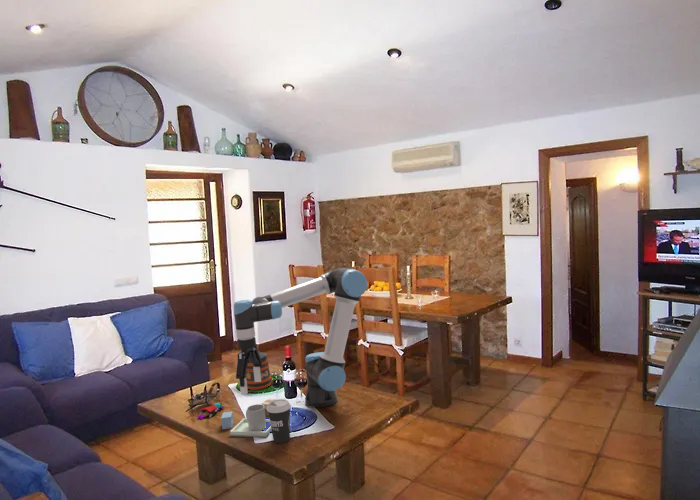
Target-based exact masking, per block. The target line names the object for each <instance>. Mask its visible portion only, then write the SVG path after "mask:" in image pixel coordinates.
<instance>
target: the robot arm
mask: <svg viewBox="0 0 700 500" xmlns="http://www.w3.org/2000/svg"><path fill="white" fill-rule="evenodd" d="M367 281H368V279H367V278H366V275H364V273H362V271H359V270H358V269H355V268H350V267H349V268H348V267H339V268H336V269H333V270H330V271H328V272H325V273H322V274H321V275H319V277H317V278H314V279H312V280H308V281H306V282H302V283H300V284H296V285H293V286H292V287H288V288H285V289H282V290H279V291H277V292H273V293H270V294H268V295H265V296H257V297H255V298H253V299H252V300H251V299H240V300H236V302H234V304H233V314H234V323H235V324H234V325H235V334H236V342H237V343H236V344H237V348H238V349H240V350H241V351H240V352H241V354H239V353H237V363H236V373H235V379H237V380H238V379H239V380H238V381H239V389H240V395H248V394H249V393H248V389H247V381H246V378H245V375H246V370H247V365H248V363H249V361H250V360H251V362H252V363H253V365H254V366H255V367H253V370H254V380H255V382H261V374H260V367H259V366H262V364H260V363H262V361H261V358H260V355H259V350H258V345H257V340H256V337H255V336H256V331H255V330H256V328H255V323H257V322H265V321H269V320H276V319H280V318H281V317H282V315H283V308H286V307H288V306H291V305H295V304H298V303H300V302H303V301H305V300H308V299H311V298H314V297H317V296H320V295H323V294H326V295H329V294H332V293H334V294H333V297H334V298H335V300H336V301H335V305H334V308H333V314H332V317H331V322H330V327H329V332H328V336H327V338H326V339H327V340H326V344H325V347H324V351H321V352H318V351H317V352H313V353H310V354H307V355H306V356H305V363H304V364H305V370H306V371H305V373H306V382H307V389H306V393H305V397H304V401H305V402H304V403H305V405H306V406H307V407H310V408H325V407H329V406H331V405H334V404H336V403H337V401H338V393H337V392H336V391H337V390H340V389H341V388H342V387H343V386H344V384H345V383H346V382H345V381H346V377H347V376H346V371H345V370H344V368H345V364H346V361H345V358H344V354H345V349H346V346H347V341H348V338H349V332H350V328H351V324H352V319H353V315H354V310H355V306H356V305H357V304H358V303H360V300H361V296H362V295H364V294H365V292H366V291H367V288H368V282H367ZM258 360H259V361H258Z"/></svg>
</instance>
